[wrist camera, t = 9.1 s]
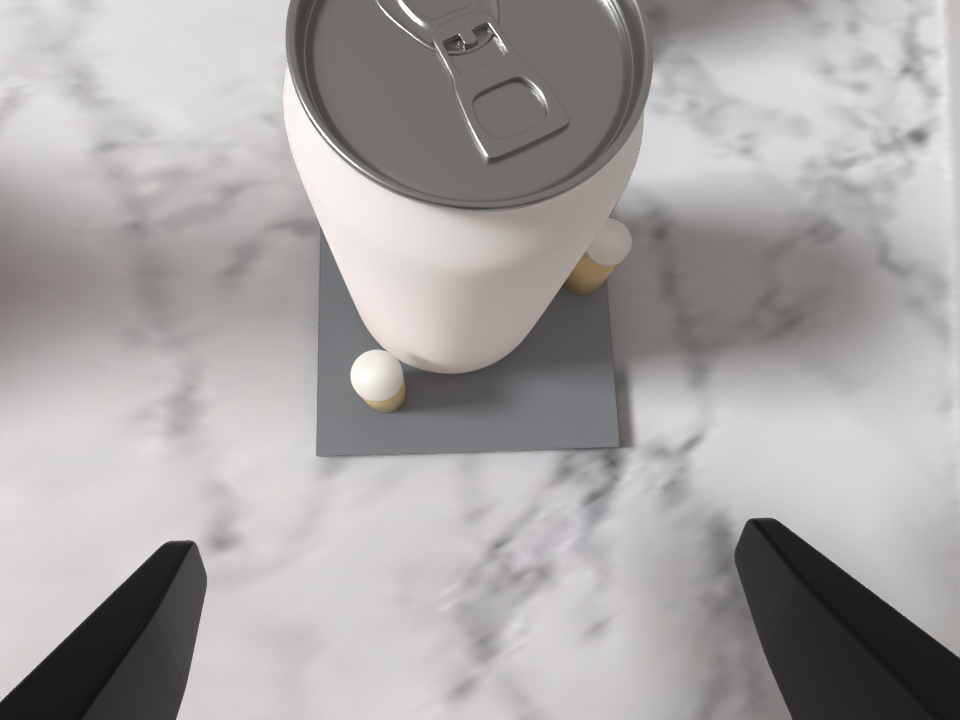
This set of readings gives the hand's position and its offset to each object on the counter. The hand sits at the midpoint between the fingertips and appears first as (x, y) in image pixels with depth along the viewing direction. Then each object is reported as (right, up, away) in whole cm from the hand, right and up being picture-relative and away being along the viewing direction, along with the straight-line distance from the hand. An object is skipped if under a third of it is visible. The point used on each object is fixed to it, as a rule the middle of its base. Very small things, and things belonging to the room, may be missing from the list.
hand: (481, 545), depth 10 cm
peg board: (-1, +6, +12) cm, 13 cm away
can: (-1, +6, +11) cm, 13 cm away
